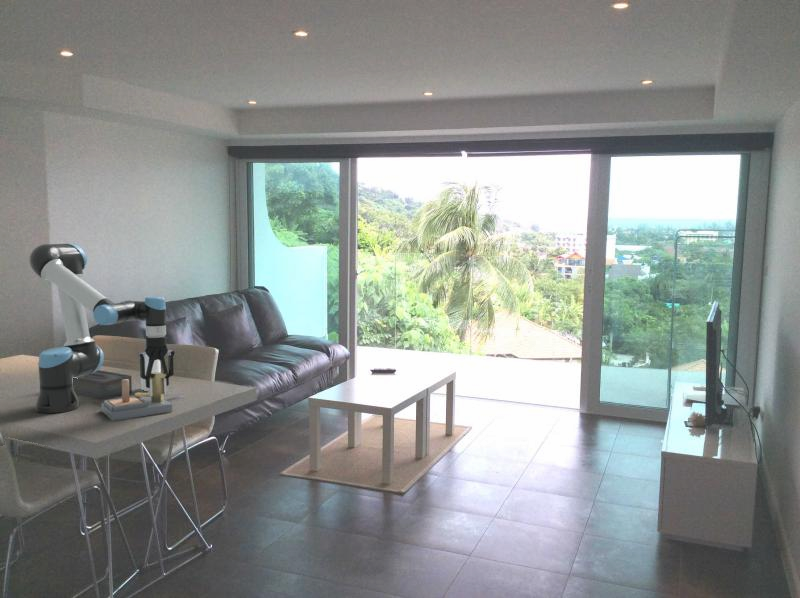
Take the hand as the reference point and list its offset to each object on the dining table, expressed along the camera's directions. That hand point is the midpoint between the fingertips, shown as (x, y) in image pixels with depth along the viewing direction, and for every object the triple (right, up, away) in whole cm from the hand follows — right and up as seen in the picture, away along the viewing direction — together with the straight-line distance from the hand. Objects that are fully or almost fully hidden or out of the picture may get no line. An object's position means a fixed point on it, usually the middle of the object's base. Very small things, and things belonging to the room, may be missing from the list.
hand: (157, 394), depth 265 cm
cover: (-10, -3, -6) cm, 12 cm away
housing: (-7, -6, -4) cm, 10 cm away
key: (-3, -2, +1) cm, 4 cm away
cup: (-15, -2, +34) cm, 37 cm away
